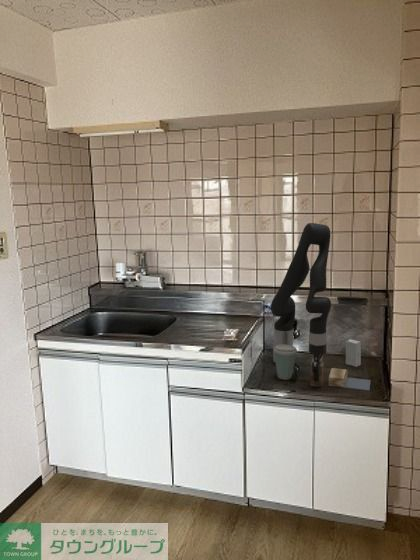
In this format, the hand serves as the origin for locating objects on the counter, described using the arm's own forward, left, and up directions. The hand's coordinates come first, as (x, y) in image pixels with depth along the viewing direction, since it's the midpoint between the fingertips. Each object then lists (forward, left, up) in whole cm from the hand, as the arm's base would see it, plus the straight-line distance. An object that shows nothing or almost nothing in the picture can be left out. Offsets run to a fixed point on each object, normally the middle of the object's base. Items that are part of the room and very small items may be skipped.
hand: (317, 378), depth 203 cm
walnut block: (0, 0, -3) cm, 3 cm away
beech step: (+8, +6, -3) cm, 11 cm away
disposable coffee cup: (-15, +4, -3) cm, 16 cm away
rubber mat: (+17, +6, -3) cm, 18 cm away
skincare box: (+13, +29, -3) cm, 32 cm away
